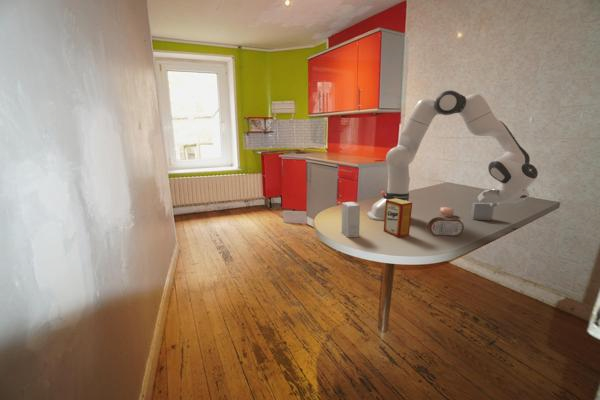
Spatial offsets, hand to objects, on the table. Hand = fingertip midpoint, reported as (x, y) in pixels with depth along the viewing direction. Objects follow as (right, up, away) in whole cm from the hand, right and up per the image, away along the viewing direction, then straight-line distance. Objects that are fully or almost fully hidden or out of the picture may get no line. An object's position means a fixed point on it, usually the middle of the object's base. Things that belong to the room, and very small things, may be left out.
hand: (493, 204), depth 146 cm
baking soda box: (-55, -13, -13) cm, 58 cm away
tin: (-33, -14, -15) cm, 39 cm away
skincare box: (-77, -14, -15) cm, 80 cm away
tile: (0, -8, +9) cm, 12 cm away
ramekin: (-16, -6, +16) cm, 23 cm away
